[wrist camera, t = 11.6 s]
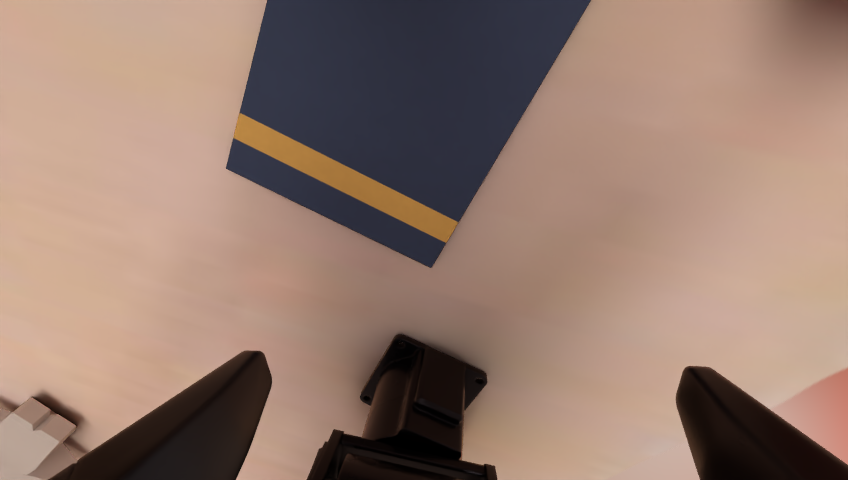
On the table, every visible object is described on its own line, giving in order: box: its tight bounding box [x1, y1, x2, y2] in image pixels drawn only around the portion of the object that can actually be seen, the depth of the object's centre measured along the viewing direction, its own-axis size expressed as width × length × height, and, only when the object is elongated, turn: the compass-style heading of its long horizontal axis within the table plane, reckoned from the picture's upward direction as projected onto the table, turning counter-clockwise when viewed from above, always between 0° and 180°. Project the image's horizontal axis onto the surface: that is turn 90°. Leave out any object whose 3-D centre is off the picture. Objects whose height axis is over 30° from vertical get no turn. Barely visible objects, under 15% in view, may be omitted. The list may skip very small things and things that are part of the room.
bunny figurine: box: [0, 397, 78, 480], centre depth 34 cm, size 10×5×15 cm
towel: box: [226, 0, 591, 268], centre depth 17 cm, size 22×12×1 cm, turn 154°
